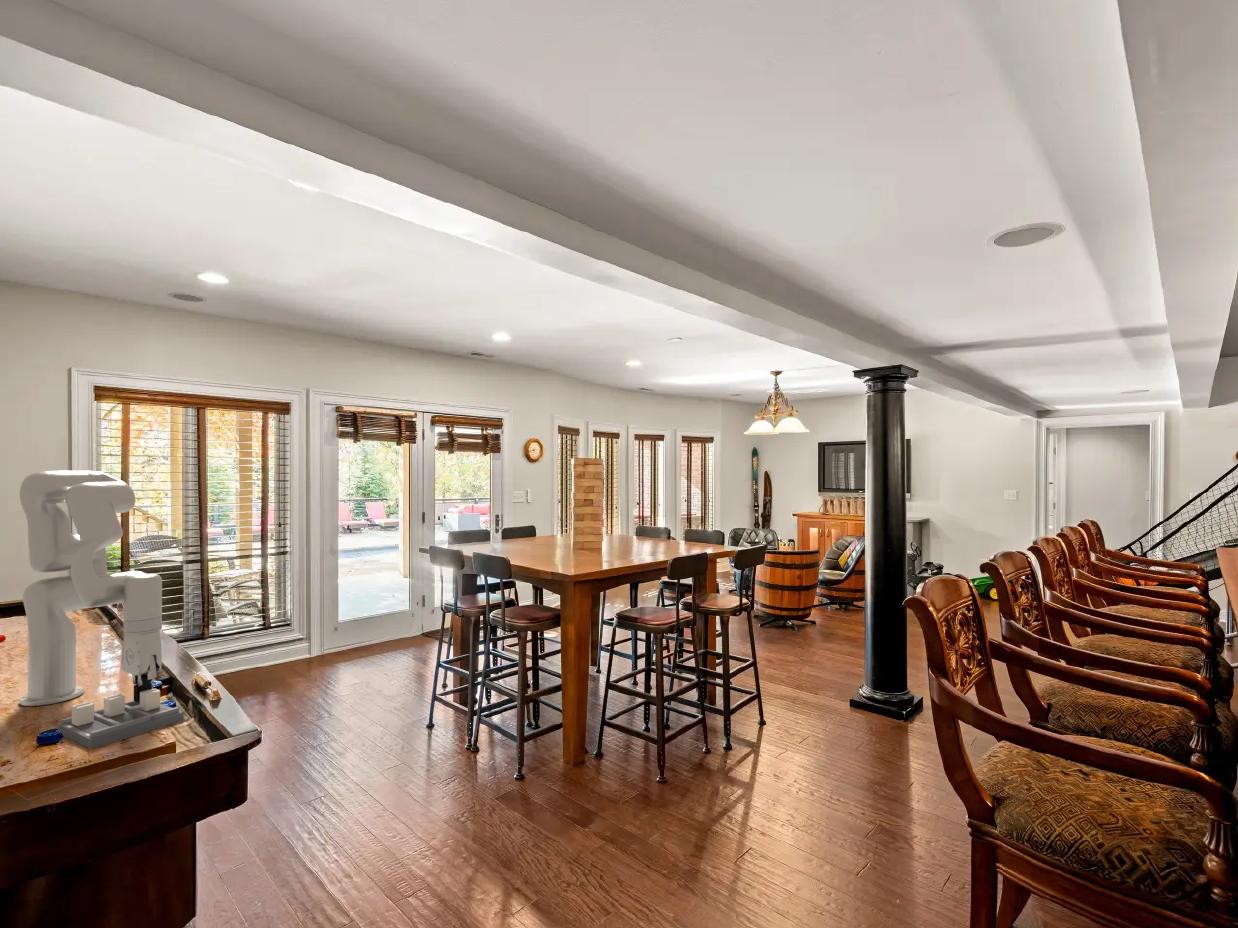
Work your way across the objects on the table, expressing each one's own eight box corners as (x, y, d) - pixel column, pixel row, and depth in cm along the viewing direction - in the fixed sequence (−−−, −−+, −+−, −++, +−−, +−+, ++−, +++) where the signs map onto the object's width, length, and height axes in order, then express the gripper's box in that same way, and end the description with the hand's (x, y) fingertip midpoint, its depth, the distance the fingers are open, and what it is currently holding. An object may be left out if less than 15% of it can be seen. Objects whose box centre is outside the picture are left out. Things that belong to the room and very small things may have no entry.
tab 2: (103, 714, 149) (103, 696, 149) (118, 710, 151) (118, 692, 151) (109, 717, 147) (109, 698, 147) (124, 712, 150) (124, 694, 150)
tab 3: (139, 708, 152) (139, 690, 152) (153, 704, 155) (154, 687, 155) (145, 711, 151) (146, 693, 151) (160, 707, 153) (160, 689, 153)
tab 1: (71, 723, 143) (71, 704, 143) (87, 718, 146) (88, 700, 146) (77, 726, 142) (77, 706, 142) (93, 721, 145) (93, 702, 145)
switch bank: (57, 732, 144) (57, 719, 144) (148, 707, 159) (148, 695, 159) (91, 749, 135) (91, 734, 135) (183, 720, 151) (183, 707, 151)
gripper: (110, 624, 155) (110, 699, 155) (140, 632, 148) (140, 710, 148) (145, 618, 162) (145, 690, 162) (175, 625, 154) (175, 700, 154)
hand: (142, 700), depth 155 cm, fingers closed
